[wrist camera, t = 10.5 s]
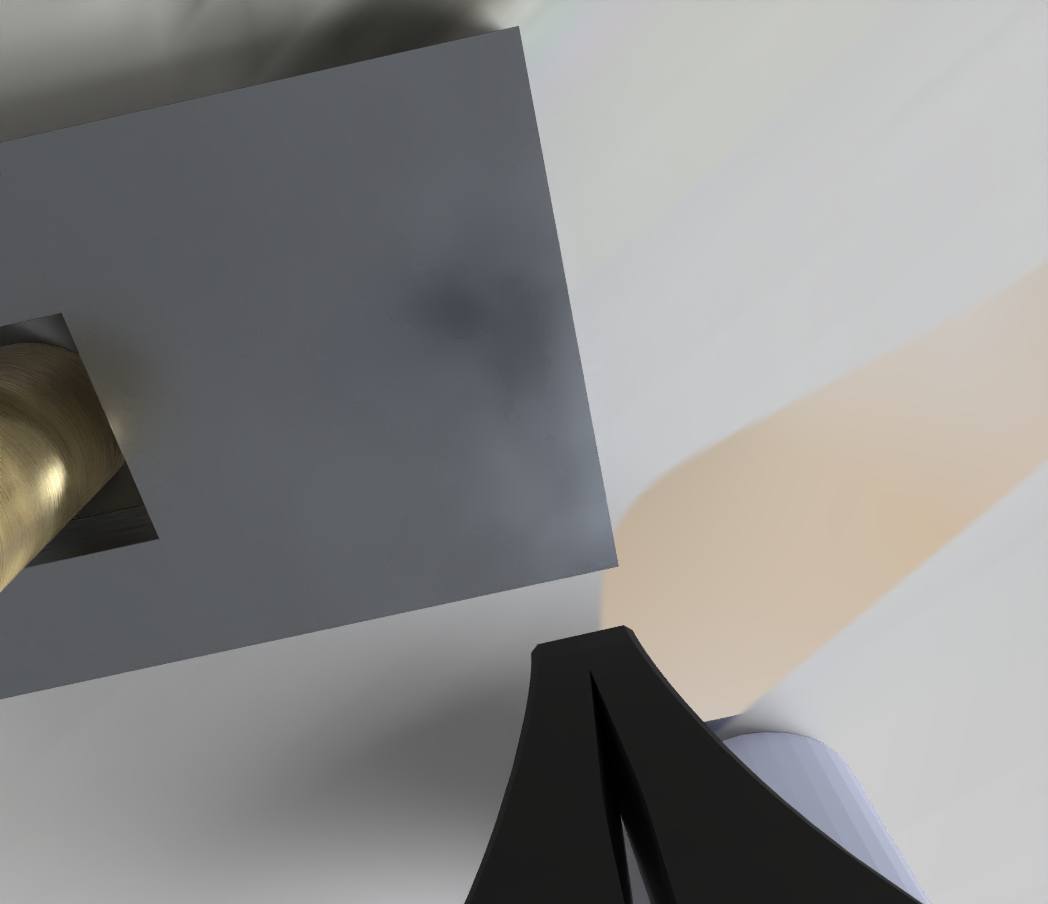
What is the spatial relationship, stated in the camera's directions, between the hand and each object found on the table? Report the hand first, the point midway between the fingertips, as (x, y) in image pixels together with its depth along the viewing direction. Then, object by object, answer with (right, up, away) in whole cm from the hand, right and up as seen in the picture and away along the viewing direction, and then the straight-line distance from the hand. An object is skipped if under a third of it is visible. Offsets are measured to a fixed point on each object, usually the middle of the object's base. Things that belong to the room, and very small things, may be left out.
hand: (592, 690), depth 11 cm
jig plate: (-9, +5, +9) cm, 13 cm away
